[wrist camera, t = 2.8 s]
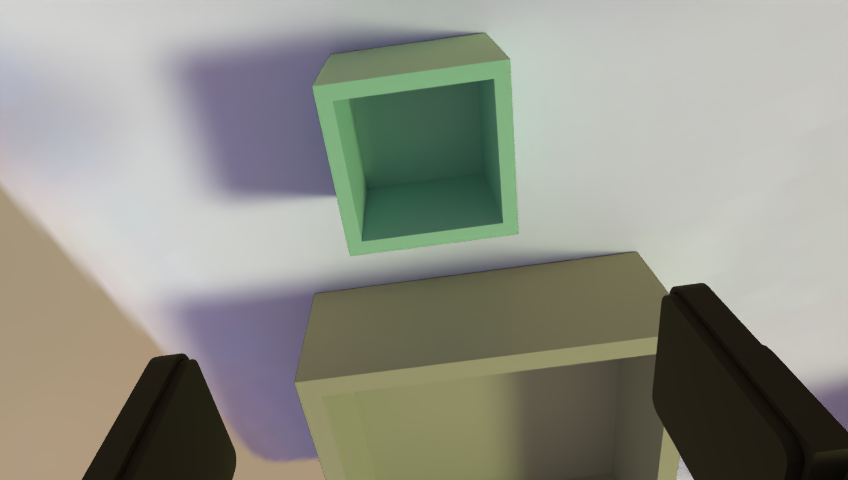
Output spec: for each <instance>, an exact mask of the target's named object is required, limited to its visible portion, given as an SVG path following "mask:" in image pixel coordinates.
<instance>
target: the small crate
mask: <svg viewBox="0 0 848 480" xmlns="http://www.w3.org/2000/svg"><path fill="white" fill-rule="evenodd" d="M312 89H313V93H314V98H315V102H316V107H317V111H318V116H319V120H320V125H321V129H322V134H323V138H324V143H325V147H326V151H327V156H328V160H329V165H330V169H331V174H332V178H333V183H334V187H335V192H336V196H337V201H338V205H339V210H340V214H341V219H342V223H343V228H344V232H345V236H346V241H347V245H348V250H349V254H350V256H356V255H363V254H371V253H378V252H386V251H394V250H401V249H409V248H416V247H424V246H432V245H439V244H447V243H454V242H462V241H470V240H477V239H485V238H492V237H500V236H508V235H515V234H519V232H518V211H517V191H516V170H515V149H514V128H513V107H512V86H511V66H510V58H509V57H508V56H507V55H506V54H505V53H504V52H503V51H502V50H501V49H500V48H499V46H498V45H497V44H496V43H495V42H494V41H493V40H492V39H491V38H490V37H489V36H488V35H487V34H486V33H480V34H473V35H466V36H459V37H451V38H444V39H437V40H430V41H423V42H416V43H409V44H401V45H394V46H387V47H380V48H373V49H366V50H359V51H351V52H344V53H337V54H330V55H329V57H328V59H327V61H326V63H325V64H324V66H323V68H322V70H321V71H320V73H319V75H318V77H317V79H316V80H315V82H314V84H313V86H312Z"/></svg>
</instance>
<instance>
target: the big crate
mask: <svg viewBox="0 0 848 480" xmlns="http://www.w3.org/2000/svg"><path fill="white" fill-rule="evenodd" d="M665 295H669V293H668V292H667V290H666V289H665V288H664V286H663V285H662V284H661V282H660V281H659V280H658V278H657V277H656V276H655V275H654V273H653V272H652V271H651V269H650V268H649V267H648V265H647V264H646V263H645V261H644V260H643V259H642V257H641V256H640V255H639V254H638V252H631V253H623V254H616V255H608V256H600V257H593V258H585V259H577V260H569V261H562V262H554V263H546V264H539V265H531V266H523V267H516V268H508V269H500V270H493V271H485V272H477V273H470V274H462V275H454V276H447V277H439V278H431V279H424V280H416V281H408V282H401V283H393V284H385V285H378V286H370V287H362V288H354V289H347V290H339V291H331V292H324V293H316V294H314V299H313V303H312V308H311V312H310V316H309V321H308V325H307V329H306V334H305V338H304V342H303V347H302V351H301V356H300V360H299V364H298V369H297V373H296V377H295V382H294V383H295V386H296V390H297V393H298V396H299V399H300V402H301V405H302V408H303V411H304V414H305V417H306V420H307V424H308V427H309V430H310V433H311V436H312V439H313V442H314V445H315V448H316V451H317V454H318V458H319V461H320V464H321V467H322V470H323V473H324V476H325V479H326V480H676V477H677V470H678V464H679V457H680V454H679V452H678V450H677V449H676V447H675V445H674V443H673V441H672V440H671V438H670V436H669V434H668V433H667V431H666V429H665V427H664V425H663V424H662V422H661V420H660V418H659V417H658V415H657V413H656V411H655V408H654V405H653V400H652V390H653V380H654V371H655V361H656V351H657V341H658V331H659V321H660V311H661V302H662V298H663V296H665Z"/></svg>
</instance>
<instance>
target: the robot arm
mask: <svg viewBox="0 0 848 480" xmlns="http://www.w3.org/2000/svg"><path fill="white" fill-rule="evenodd" d="M652 400H653V405H654V408H655V411H656V413H657V415H658V417H659V418H660V420H661V422H662V424H663V425H664V427H665V429H666V431H667V433H668V434H669V436H670V438H671V440H672V441H673V443H674V445H675V447H676V449H677V450H678V452H679V454H680V456H681V457H682V459H683V461H684V463H685V465H686V466H687V468H688V470H689V472H690V473H691V475H692V477H693V479H694V480H848V432H847V431H846V430H845V429H844V428H843V427H842V425H841V424H840V423H839V422H838V421H837V420H836V419H835V418H834V417H833V416H832V415H831V414H830V413H829V411H828V410H827V409H826V408H825V407H824V406H823V405H822V404H821V403H820V402H819V401H818V400H817V399H816V398H815V396H814V395H813V394H812V393H811V392H810V391H809V390H808V389H807V388H806V387H805V386H804V385H803V384H802V382H801V381H800V380H799V379H798V378H797V377H796V376H795V375H794V374H793V373H792V372H791V371H790V370H789V369H788V367H787V366H786V365H785V364H784V363H783V362H782V361H781V360H780V359H779V358H778V357H777V356H776V355H775V353H774V352H773V351H771V350H770V349H769V348H768V347H767V346H765V345H762V344H761V343H760V342H759V341H758V340H757V339H756V338H755V337H754V336H753V335H752V333H751V332H750V331H749V330H748V329H747V328H746V327H745V326H744V325H743V324H742V323H741V321H740V320H739V319H738V318H737V317H736V316H735V315H734V314H733V313H732V312H731V311H730V310H729V308H728V307H727V306H726V305H725V304H724V303H723V302H722V301H721V300H720V299H719V298H718V296H717V295H716V294H715V293H714V292H713V291H712V290H711V289H710V288H709V287H708V286H707V285H706V284H704V283H698V284H690V285H683V286H676V287H673V288H672V289H671V291H670V294H669V295H665V296H663V298H662V302H661V311H660V321H659V331H658V341H657V351H656V361H655V371H654V380H653V390H652ZM235 468H236V453H235V449H234V447H233V445H232V442H231V440H230V437H229V435H228V433H227V430H226V428H225V426H224V423H223V421H222V419H221V416H220V414H219V412H218V409H217V407H216V405H215V402H214V400H213V398H212V395H211V393H210V390H209V388H208V386H207V383H206V381H205V379H204V376H203V374H202V372H201V369H200V367H199V365H198V363H197V361H196V360H194V359H191V360H189V358H188V357H187V356H186V355H185V354H182V353H181V354H174V355H166V356H159V357H154V358H152V359H151V360H150V362H149V363H148V365H147V367H146V368H145V370H144V372H143V373H142V376H141V377H140V379H139V381H138V382H137V384H136V386H135V387H134V389H133V391H132V393H131V394H130V396H129V398H128V400H127V402H126V403H125V405H124V407H123V408H122V410H121V412H120V414H119V416H118V417H117V419H116V421H115V422H114V424H113V426H112V428H111V429H110V431H109V433H108V435H107V436H106V438H105V440H104V442H103V443H102V445H101V447H100V449H99V450H98V452H97V454H96V456H95V457H94V459H93V461H92V463H91V465H90V466H89V468H88V470H87V471H86V473H85V475H84V477H83V478H82V480H232V478H233V475H234V472H235Z"/></svg>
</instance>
